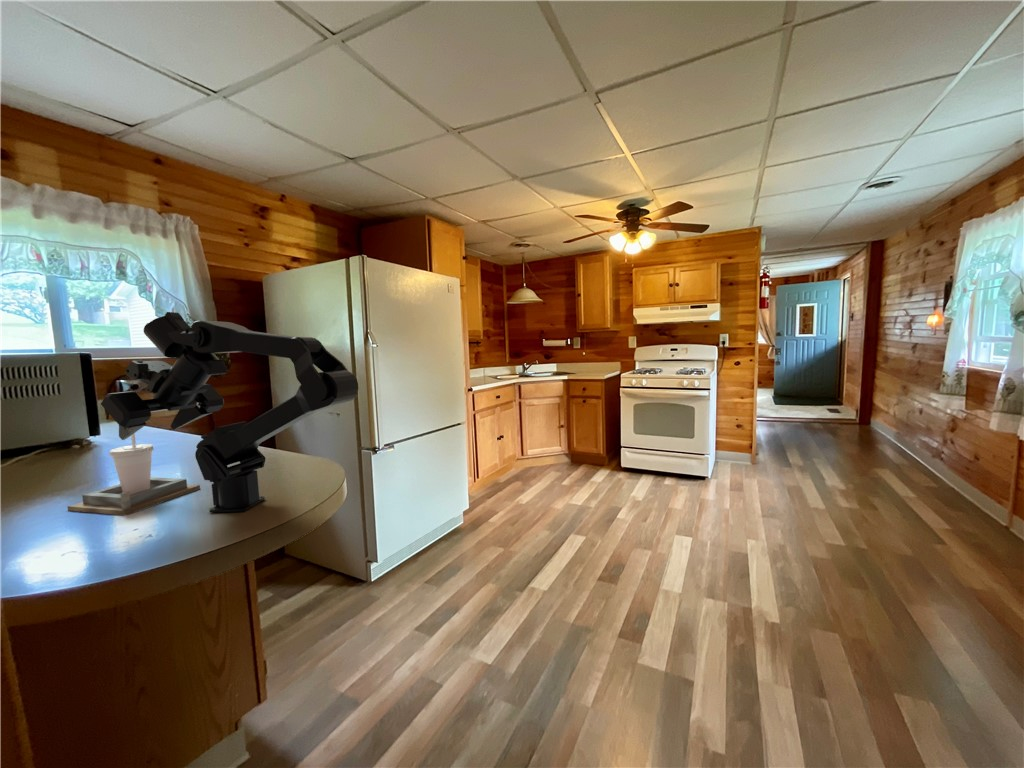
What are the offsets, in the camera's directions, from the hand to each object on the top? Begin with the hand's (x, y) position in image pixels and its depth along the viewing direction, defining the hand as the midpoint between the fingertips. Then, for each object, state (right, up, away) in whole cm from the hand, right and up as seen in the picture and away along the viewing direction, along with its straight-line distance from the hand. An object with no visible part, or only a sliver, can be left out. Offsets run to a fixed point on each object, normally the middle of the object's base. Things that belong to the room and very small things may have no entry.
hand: (148, 432), depth 80 cm
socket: (-4, -13, +2) cm, 14 cm away
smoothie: (-4, -13, +2) cm, 14 cm away
